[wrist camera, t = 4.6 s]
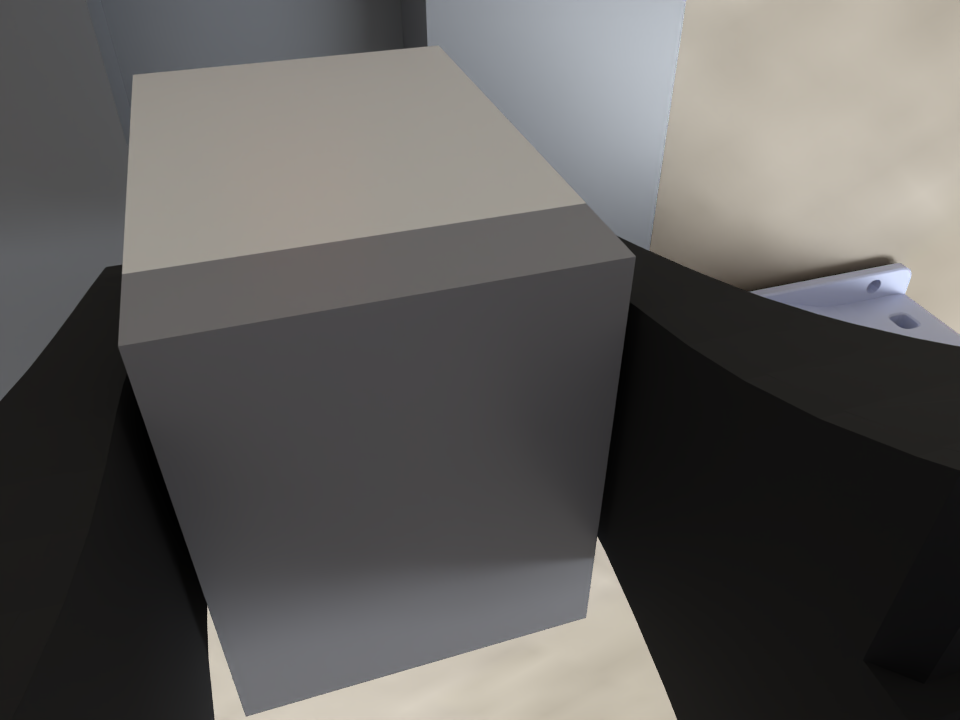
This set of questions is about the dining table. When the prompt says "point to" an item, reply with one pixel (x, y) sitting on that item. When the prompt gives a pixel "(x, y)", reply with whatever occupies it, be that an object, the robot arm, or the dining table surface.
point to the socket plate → (285, 36)
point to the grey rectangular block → (367, 362)
